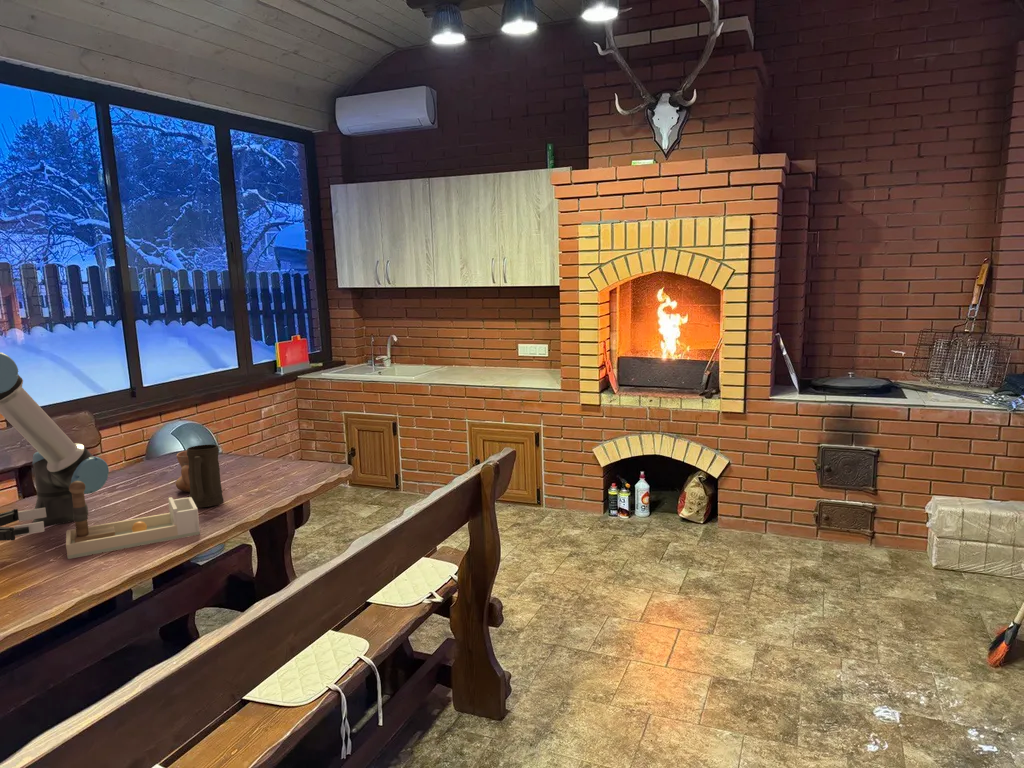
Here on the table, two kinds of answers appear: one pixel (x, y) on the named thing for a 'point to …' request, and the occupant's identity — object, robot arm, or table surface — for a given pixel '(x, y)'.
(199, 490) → the beer stein
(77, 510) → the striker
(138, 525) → the ball
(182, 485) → the ceramic jug
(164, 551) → the table surface
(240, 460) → the table surface
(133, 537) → the cream long tray
